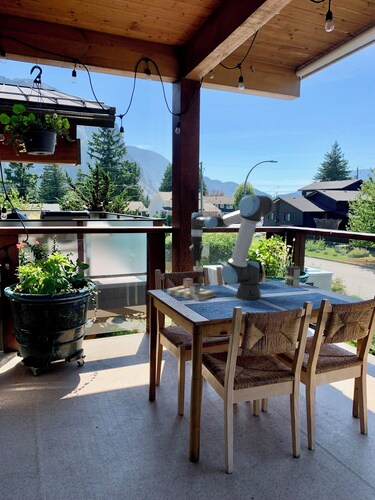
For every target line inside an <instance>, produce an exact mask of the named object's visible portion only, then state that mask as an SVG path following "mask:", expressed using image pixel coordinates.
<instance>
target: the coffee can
mask: <svg viewBox="0 0 375 500" xmlns="http://www.w3.org/2000/svg"><path fill="white" fill-rule="evenodd" d="M300 277H301V267H300V266H297V265H286V266H285V279H284V286H285V285H286V286H285V287H288V286H290V288H299V287H300V279H301V278H300Z"/></svg>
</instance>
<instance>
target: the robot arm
mask: <svg viewBox="0 0 375 500" xmlns="http://www.w3.org/2000/svg"><path fill="white" fill-rule="evenodd" d="M274 208H275V204H274V201H273V199H272V198H271V197H269V196H268V195H258V194H257V195H256V194H249V195H248V194H247V195H244V196H243V197H242V198H240V200H239V204H238V210H235V211H232V212H229V213H226V214H224V215H220V216H219V215H218V216H216V215H215V216H212V215H210V216H209V215H207V216H206V215H204V212H193V213H191V223H190V224H191V225H190V226H191V228H190V229H191V234H190V235H191V236H190V242H191V246H189V247H188V250H189V254H190V255H189V256H190V261H192V263H193V264H192V265H193V266H192V267H193V269H192V271H194V272H198V271H199V262H201V261H200V260H201V259H202V253H203V249H204V245H202V243H203V229H219V228H220V229H224V228H229V227H230V226H231V225H235V224H238V223H240V226H239V229H238V232H237V237H236V240H235V244H234V248H233V251H232V255H231V257H230V258H228V259H227V263H226V264H225V265H224V266H222V267H221V272H220V274H221V277H222V280H223V281H224V283H226V284H228V285H236V284H239V285H238V287H237V288H238V289H237V292H236V298H238V299H240V300H243V301H244V300H246V301H256V300H261V298H262V294H261V293H262V292H261V290H260V286H259V283H260V282H259V263H260V262H259V261H258V262H259V263H258V262H257V261H256V262H253V261H254V260H253V261H247V260H248V259H247V258H248V255H249V251H250V248H251V244H252V240H253V237H254V234H255V231H256V227H257V224H258V223H260V222H261V219H262V217H266V216H269V215H270V214H271V213H273V211H274Z"/></svg>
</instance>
